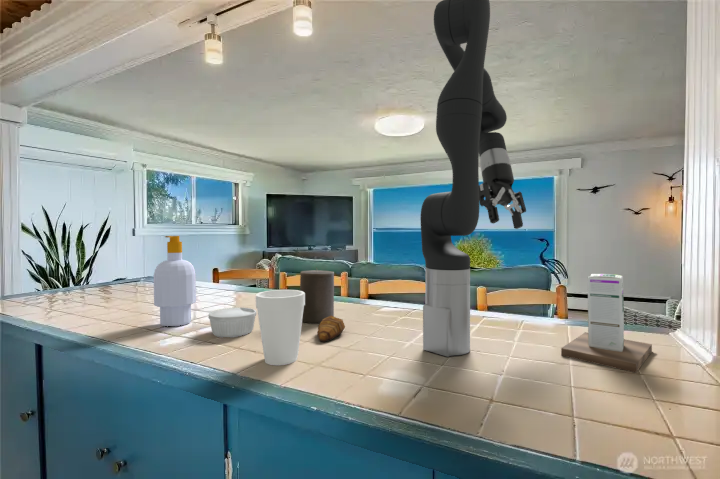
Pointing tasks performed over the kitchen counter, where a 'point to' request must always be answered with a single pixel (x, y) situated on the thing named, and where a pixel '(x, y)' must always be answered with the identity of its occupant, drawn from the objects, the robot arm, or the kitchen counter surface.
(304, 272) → the pillar candle
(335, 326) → the croissant
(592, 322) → the syrup box
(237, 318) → the ramekin
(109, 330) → the kitchen counter surface
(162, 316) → the soap bottle
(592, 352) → the walnut board
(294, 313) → the foam cup
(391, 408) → the kitchen counter surface
